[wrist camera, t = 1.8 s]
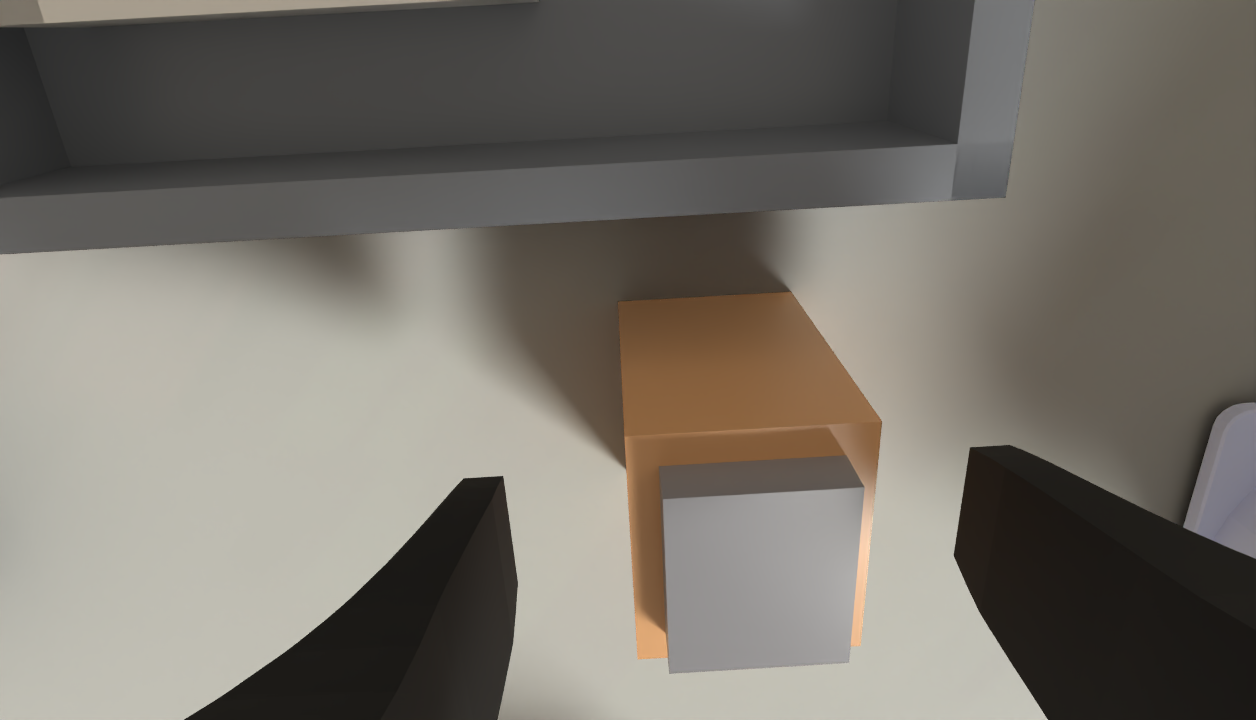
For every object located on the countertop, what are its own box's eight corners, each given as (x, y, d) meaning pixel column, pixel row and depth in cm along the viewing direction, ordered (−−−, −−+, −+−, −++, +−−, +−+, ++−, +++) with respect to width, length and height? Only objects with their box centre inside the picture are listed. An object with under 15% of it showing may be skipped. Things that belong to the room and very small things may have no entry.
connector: (790, 291, 15) (903, 451, 10) (784, 461, 17) (877, 686, 11) (618, 301, 15) (625, 468, 10) (628, 471, 17) (640, 700, 11)
